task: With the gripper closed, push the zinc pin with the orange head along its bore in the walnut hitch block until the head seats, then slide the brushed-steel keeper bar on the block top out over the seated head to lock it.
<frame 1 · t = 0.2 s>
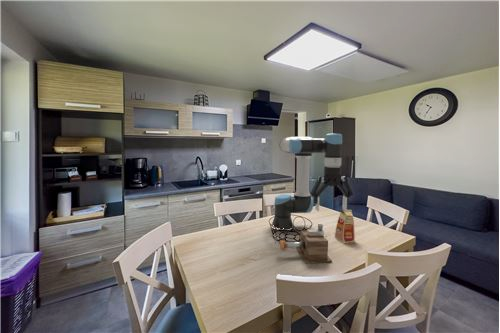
hand: (330, 209, 106), 28 cm above the table, fingers open, 13 cm apart
lynch pin: (295, 245, 116), point 6 cm above the table, slide at 0.0 cm
keeper bar: (315, 229, 116), point 14 cm above the table, slide at 0.0 cm
milk carton: (344, 239, 137), on the table
hitch block: (312, 255, 117), on the table
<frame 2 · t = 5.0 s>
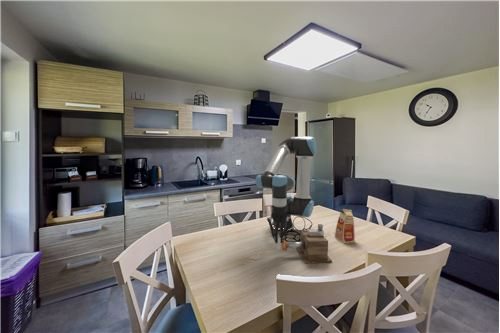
hand: (278, 248, 115), 4 cm above the table, fingers closed
lynch pin: (296, 244, 116), point 6 cm above the table, slide at 0.8 cm, touching gripper
everything else where it was.
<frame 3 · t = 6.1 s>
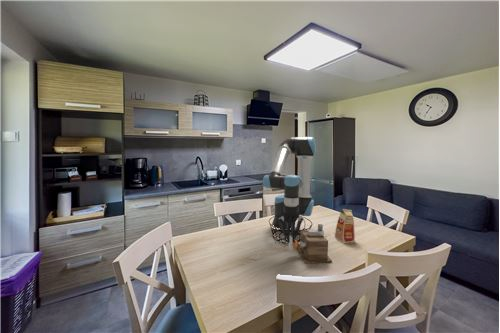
hand: (290, 248, 116), 4 cm above the table, fingers closed
lynch pin: (308, 244, 116), point 6 cm above the table, slide at 7.1 cm, touching gripper
everything else where it was.
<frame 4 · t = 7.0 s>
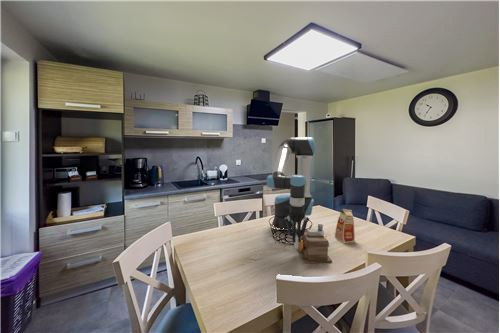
hand: (296, 247, 116), 4 cm above the table, fingers closed
lynch pin: (314, 244, 116), point 6 cm above the table, slide at 10.2 cm, touching gripper
everything else where it was.
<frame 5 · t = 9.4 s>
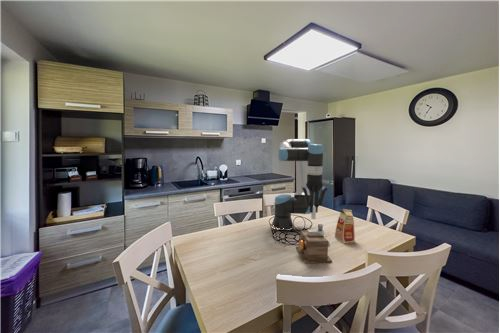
hand: (313, 218, 115), 21 cm above the table, fingers closed
lynch pin: (314, 244, 116), point 6 cm above the table, slide at 10.3 cm
everything else where it was.
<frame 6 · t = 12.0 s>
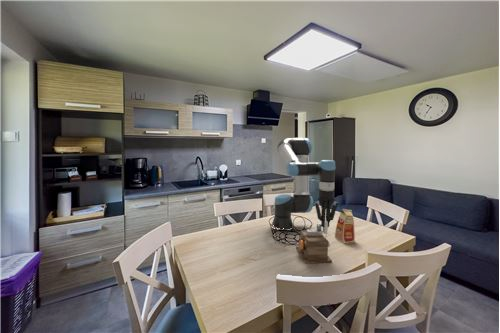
hand: (324, 232, 116), 12 cm above the table, fingers closed
keeper bar: (314, 230, 116), point 14 cm above the table, slide at 0.7 cm, touching gripper
everything else where it was.
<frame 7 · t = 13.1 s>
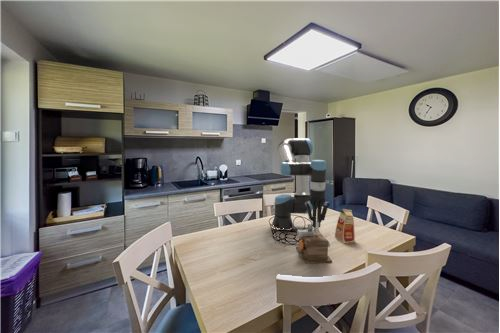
hand: (316, 232, 116), 12 cm above the table, fingers closed
keeper bar: (305, 230, 115), point 14 cm above the table, slide at 5.5 cm, touching gripper
everything else where it was.
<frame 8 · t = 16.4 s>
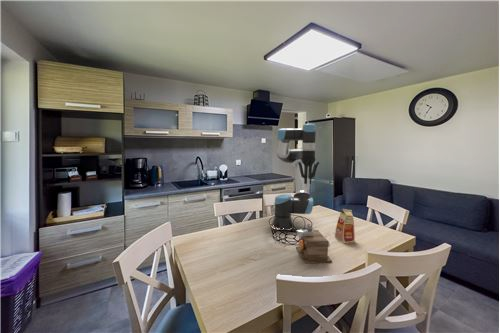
hand: (307, 189, 132), 32 cm above the table, fingers closed
keeper bar: (305, 230, 115), point 14 cm above the table, slide at 5.6 cm
everything else where it was.
at the end: lynch pin slide at 10.3 cm; keeper bar slide at 5.6 cm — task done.
